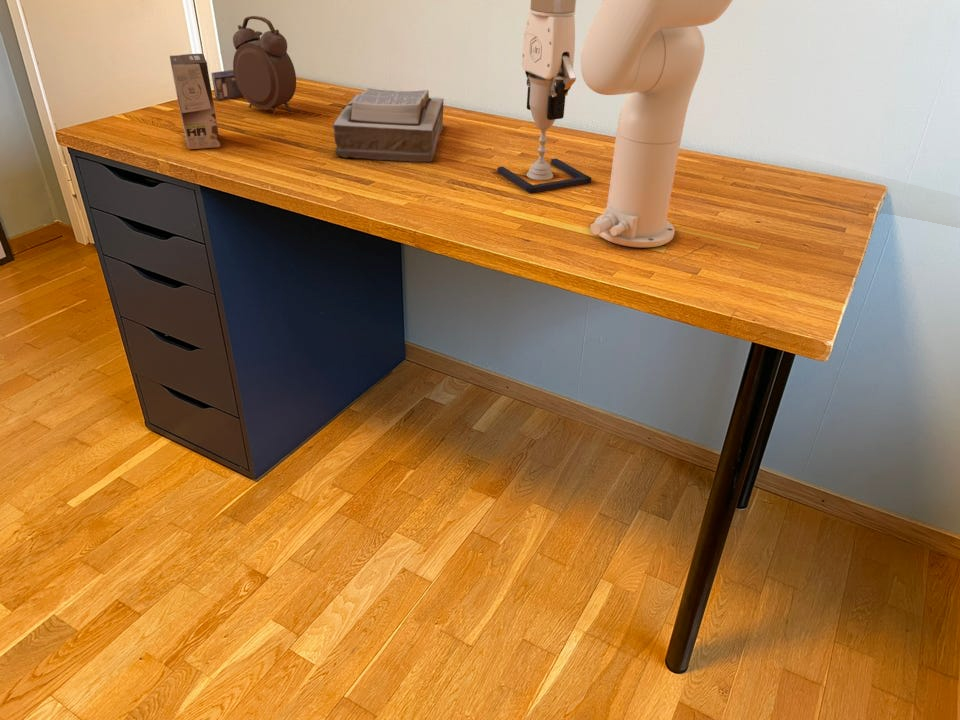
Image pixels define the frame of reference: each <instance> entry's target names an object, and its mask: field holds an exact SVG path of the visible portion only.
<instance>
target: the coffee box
mask: <svg viewBox="0 0 960 720" xmlns="http://www.w3.org/2000/svg"><path fill="white" fill-rule="evenodd" d="M169 61H170V66H171V72H172V76H173V77H172V78H173V83H174V86H175V87H174V88H175V92H176V97H177V103H178V107H179V113H180V119H181V123H182V126H183V133H184V136H185V140H186V145H187V149H188V150H198V149H199V150H201V149H213V148H220V147H221V141H220V134H219V129H218V122H217V116H216V110H215V103H214V98H213V91H212V86H211V80H210V74H209V68H208V62H207V59H206V58H205V55H204V53H186V54H177V55H176V54H175V55H169Z"/></svg>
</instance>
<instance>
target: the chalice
mask: <svg viewBox="0 0 960 720" xmlns="http://www.w3.org/2000/svg"><path fill="white" fill-rule="evenodd" d="M528 76H529V79H530V81H531V85H530V86H529V87H530V100H529V105H530V109H531V110H530V112H531V116H532V119H533V121H534V125H535V127H536V128H538V129H539V130H540V135H539V138H538V142H539V147H538V148H537V149H536V150H537V151H538V155H539V156H538V159H536V161H533V162H532V163H531V165H530V167H529V169H528V171H527V173H526V176H527V177H528V178H529V179H531V180H534V181H535V180H536V181H547V180H551V179H553V178H554V174H553V170H552V168H551V165H550V163H549V162H547V161H546V159H545V153H546V152H547V151H548V149H547V148H546V142H547V141H548V139H547V135H546V134H547V130H549V129H551V128H552V126H553V125H554V123H555V121H556V119H554V120H549V119H547V109H548V96H551V90H550V83H551V81H549V80H546V79H543V78H541V77H538V76H536V75H535V76H533V75H532V74H531V73H529V74H528ZM556 77H559V75H557V76H556ZM561 81H562V80H559V81H556V87H557V86H558V85H559V84H560V83H561Z"/></svg>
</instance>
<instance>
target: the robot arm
mask: <svg viewBox="0 0 960 720" xmlns="http://www.w3.org/2000/svg"><path fill="white" fill-rule="evenodd" d="M732 2H733V0H602V2H601V3H600V5H599V8H598V10H597V11H596V14H595V15H594V18H593V20H592V22H591V25H590V27H589V29H588V31H587V33H586V36H585V39H584V41H583V45H582V48H581V53H580V72H581V76H582V80H583V82H584V83H585V85H586V86H587V87H588V88H589V89H590V90H591V91H592V92H595V93H596V94H599V95H604V96H618V95H627V94H628V96H627V97H626V99H625V101H624V103H623V105H622V107H621V110H620V112H619V115H618V120H617V126H616V134H615V141H614V150H613V157H612V164H611V172H610V180H609V188H608V196H607V203H606V207H605V208H604V213H602V214H599V216H597V217H596V219H595V220H594V222H592V223H591V224H590V227H589V230H590V233H591V234H592V235H594V236H599V237H601V238H602V239H603V240H606V241H607V242H610V243H613V244H615V245H620V246H623V247H629V248H638V249H639V248H645V249H646V248H655V247H660V246H663V245H667V244H668V243H670V242H671V241H672V240H673V238H674V237H675V231H676V229H675V227H674V225H673V224H672V223H671V222H670V221H669V220H668V214H669V209H670V202H671V197H672V192H673V187H674V180H675V175H676V171H677V170H676V169H677V164H678V159H679V153H680V148H681V143H682V137H683V133H684V127H685V122H686V118H687V117H686V116H687V112H688V108H689V104H690V100H691V97H692V95H693V94H692V93H693V91H694V89H695V86H696V83H697V81H698V78H699V75H700V72H701V71H702V67H703V63H704V60H705V48H706V47H705V40H704V36H703V34H702V31H701V30H700V28H699V27H701V26H705V25H709V24H712V23H713V22H715V21H717V20H718V19H720V18H721V16H722V15H724V13H725V12H726V11H727V9H728V8H729V7H730V5H731V4H732ZM529 5H530V6H529V10H528V14H527V18H526V22H525V27H524V28H525V29H524V36H523V43H522V44H523V45H522V55H521V66H522V69H523V70H524V72H525V73H524V74H525V76H526V86H527V96H526V110H528V111H531V109H530V105H529V100H530V85H531V81H530V79H529V76H528V74H529V73H531V74H532V75H533V76H535V75H536V76H538V77H541V78H543V79H546V80H549V81H551V83H550V90H551V96H548V109H547V119H549V120H554V119H555V120H561V119H563V118H564V116H565V106H566V97H567V96H568V94H569V91H570V90H571V88H572V86H573V85H574V84H575V82H576V80H577V77H576V74H575V72H574V64H575V63H574V62H575V51H576V18H575V14H576V7H577V0H530V4H529ZM557 75H559V77H556V76H557ZM559 80H562V81H561V83H560V84H559V85H558V86H557V87H556V81H559Z"/></svg>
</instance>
